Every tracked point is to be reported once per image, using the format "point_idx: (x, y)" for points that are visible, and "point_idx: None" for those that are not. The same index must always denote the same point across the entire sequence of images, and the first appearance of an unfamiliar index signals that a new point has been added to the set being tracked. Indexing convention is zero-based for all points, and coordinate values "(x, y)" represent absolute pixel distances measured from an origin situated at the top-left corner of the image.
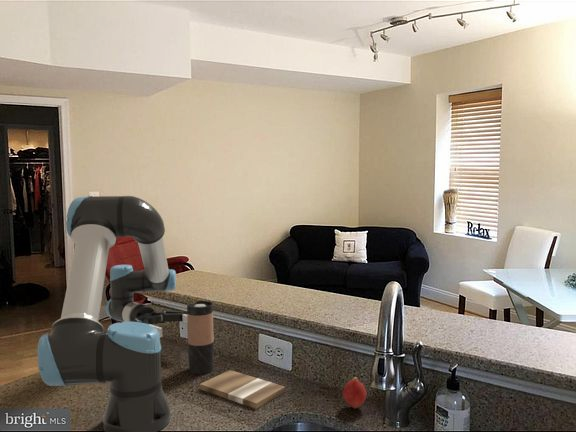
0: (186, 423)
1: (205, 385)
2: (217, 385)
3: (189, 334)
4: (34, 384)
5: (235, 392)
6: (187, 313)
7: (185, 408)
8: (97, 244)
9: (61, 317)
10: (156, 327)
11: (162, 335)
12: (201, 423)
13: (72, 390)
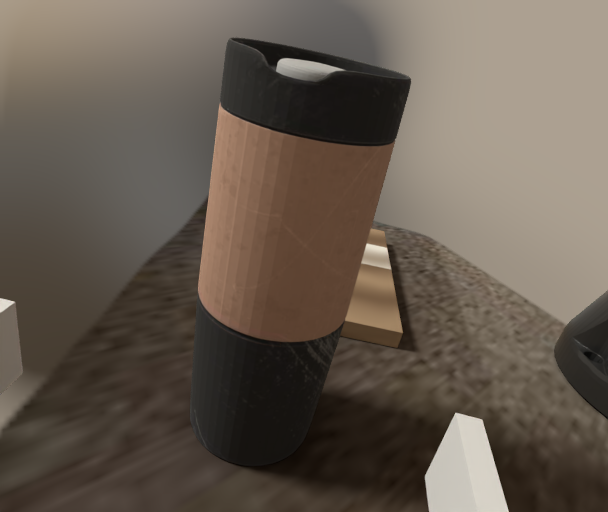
0: (530, 311)
1: (398, 317)
2: (373, 296)
3: (360, 265)
4: None
5: (374, 261)
6: (383, 145)
7: (499, 335)
8: None
9: None
10: (497, 477)
11: (429, 467)
12: (502, 292)
13: None
